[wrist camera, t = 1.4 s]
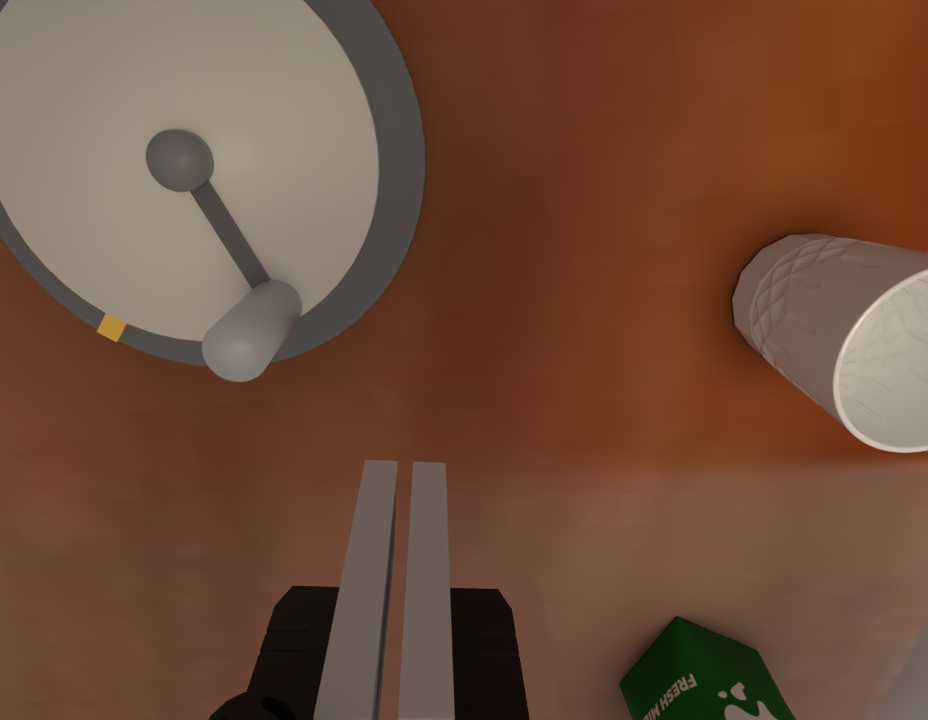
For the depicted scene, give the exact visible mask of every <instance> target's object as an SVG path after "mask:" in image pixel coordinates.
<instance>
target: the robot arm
mask: <svg viewBox="0 0 928 720" xmlns="http://www.w3.org/2000/svg"><path fill="white" fill-rule="evenodd" d="M397 469H398V461H380V460H365V464H364V469H363V474H362V479H361V484H360V489H359V494H358V499H357V504H356V508H355V513H354V518H353V523H352V528H351V533H350V538H349V543H348V548H347V553H346V558H345V563H344V568H343V573H342V578H341V583H340V587H317V586H292V587H291V588H290V589H289V591H288V592H287V593H286V594H285V595H284V596H283V597H282V598H281V600H280V601H279V602H278V603H277V604H276V605H275V607H274V610H273V613H272V616H271V619H270V622H269V625H268V628H267V634H266V635H265V637H264V640H263V643H262V646H261V649H260V655H259V656H258V659H257V662H256V665H255V668H254V671H253V674H252V677H251V680H250V683H249V686H248V689H247V692H244V693H242V694H240V695H238V696H236V697H234V698H232V699H230V700H228V701H226V702H225V703H224V704H223V705H222V706H221V707H220V708H219V709H218V710H217V711H215V712H214V713H213V714H212V715H211V716H210V718H209V720H379V719H380V708H381V697H382V685H383V674H384V663H385V652H386V641H387V630H388V619H389V608H390V596H391V585H392V574H393V563H394V547H395V521H396V495H397ZM515 634H516V632H515V626H514V620H513V614H512V609H511V608H510V606H509V605H508V603H507V602H506V600H505V599H504V597H503V596H502V594H501V593H500V591H499V590H498V589H474V588H450V577H449V549H448V521H447V494H446V466H445V463H432V462H413V474H412V491H411V508H410V525H409V542H408V560H407V577H406V594H405V611H404V628H403V645H402V662H401V679H400V696H399V713H398V720H530V719H529V713H528V707H527V700H526V694H525V688H524V682H523V676H522V669H521V663H520V657H519V651H518V645H517V639H516V636H515Z"/></svg>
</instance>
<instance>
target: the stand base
mask: <svg viewBox="0 0 928 720" xmlns="http://www.w3.org/2000/svg"><path fill="white" fill-rule="evenodd" d="M8 1H9V0H0V12H1V11H2V9H3V8H4V7H5V5H6V4H7V2H8ZM304 1H305V2H306V3H307V4H308V5H309V6H310V8H311V9H312V10H313V11H314V12H315V13H316V14H317V15H318V16H319V17H320V18H321V19H322V20H323V21H324V22H325V23H326V25H327V26H328V27H329V29H330V30H331V31H332V33H333V34H334V35H335V37H336V38H337V39H338V41H339V42H340V43H341V45H342V46H343V48H344V49H345V51H346V53H347V54H348V56H349V58H350V60H351V61H352V63H353V65H354V67H355V68H356V70H357V72H358V74H359V77H360V79H361V81H362V84H363V86H364V88H365V91H366V93H367V96H368V99H369V102H370V105H371V109H372V112H373V116H374V119H375V123H376V129H377V135H378V141H379V148H380V183H379V195H378V200H377V204H376V209H375V214H374V218H373V221H372V224H371V226H370V229H369V232H368V235H367V237H366V240H365V242H364V244H363V245H362V247H361V249H360V251H359V253H358V255H357V257H356V259H355V261H354V262H353V264H352V266H351V267H350V268H349V270H348V271H347V273H346V274H345V275H344V277H343V278H342V280H341V281H340V282H339V284H338V285H337V286H336V287H335V288H334V289H333V290H332V291H331V292H330V293H329V294H328V295H327V296H326V297H325V298H324V299H323V300H322V301H321V302H320V303H318V304H317V305H316V306H314V307H313V308H312V309H311V310H309V311H308V312H307V313H305V314H304V315H302V316H300V318H299V320H298V321H297V323H296V324H295V326H294V327H293V329H292V330H291V332H290V333H289V335H288V336H287V338H286V339H285V341H284V342H283V343H282V345H281V346H280V348H279V349H278V351H277V352H276V354H275V355H274V357H273V358H272V360H271V361H270V363H272V362H276V361H280V360H284V359H287V358H291V357H294V356H297V355H299V354H302V353H304V352H307V351H309V350H311V349H314V348H316V347H318V346H320V345H322V344H323V343H325V342H327V341H329V340H330V339H332V338H334V337H336V336H337V335H339V334H340V333H342V332H343V331H344V330H345V329H347V328H348V327H349V326H351V325H352V324H353V323H355V322H356V321H357V320H359V319H360V318H361V316H362V315H363V314H364V313H365V312H366V311H367V310H368V309H369V308H370V307H371V306H372V305H373V304H374V303H375V302H376V301H377V300H378V299H379V297H380V296H381V295H382V293H383V292H384V291H385V289H386V288H387V287H388V285H389V284H390V283H391V281H392V280H393V278H394V276H395V274H396V273H397V271H398V269H399V267H400V265H401V264H402V262H403V260H404V258H405V256H406V254H407V251H408V248H409V246H410V243H411V241H412V238H413V236H414V233H415V230H416V226H417V222H418V218H419V214H420V209H421V205H422V199H423V191H424V182H425V173H426V161H425V137H424V130H423V123H422V116H421V111H420V107H419V103H418V99H417V96H416V92H415V88H414V84H413V82H412V79H411V76H410V74H409V71H408V69H407V66H406V64H405V61H404V59H403V56H402V54H401V52H400V50H399V48H398V46H397V44H396V42H395V40H394V38H393V37H392V35H391V33H390V31H389V29H388V27H387V25H386V24H385V22H384V20H383V18H382V17H381V15H380V14H379V13H378V11H377V10H376V8H375V7H374V5H373V4H372V3H371V1H370V0H304ZM0 236H1V237H2V239H3V240H4V242H5V243H6V245H7V246H8V248H9V249H10V250H11V252H12V253H13V255H14V256H15V258H16V259H17V260H18V261H19V262H20V263H21V265H22V266H23V267H24V268H25V269H26V270H27V271H28V273H29V274H30V275H31V276H32V277H33V278H34V279H35V281H36V282H37V283H38V284H39V285H40V286H42V287H43V288H44V289H45V290H46V291H47V292H48V293H49V294H50V295H51V296H52V297H53V298H54V299H55V300H57V301H58V302H59V303H60V304H61V305H63V306H64V307H65V308H66V309H68V310H69V311H70V312H72V313H73V314H74V315H76V316H77V317H78V318H80V319H81V320H82V321H84V322H85V323H87V324H89V325H90V326H92V327H94V328H95V329H97V332H98V333H100V334H102V335H104V336H106V337H107V338H109V339H111V340H113V341H115V342H118V341H119V342H121V343H123V344H125V345H128V346H130V347H132V348H134V349H136V350H139V351H142V352H145V353H148V354H151V355H154V356H157V357H160V358H163V359H167V360H172V361H176V362H181V363H185V364H190V365H200V366H208V365H207V364H206V362H205V360H204V357H203V354H202V341H194V340H185V339H177V338H172V337H168V336H164V335H159V334H155V333H152V332H149V331H146V330H143V329H140V328H137V327H134V326H132V325H129V324H127V323H125V322H123V321H121V320H119V319H117V318H115V317H112V316H110V315H108V314H107V313H105V312H103V311H102V310H100V309H98V308H97V307H95V306H94V305H92V304H90V303H89V302H87V301H85V300H84V299H83V298H82V297H80V296H79V295H78V294H76V293H75V292H74V291H72V290H71V289H70V288H69V287H67V286H66V285H65V284H64V283H63V282H62V281H61V280H59V279H58V278H57V277H56V276H55V275H54V274H53V273H52V272H51V271H50V270H49V269H48V268H47V267H46V266H45V265H44V264H43V263H42V262H41V260H40V259H39V258H38V257H37V256H36V255H35V253H34V252H33V251H32V250H31V249H30V247H29V246H28V245H27V244H26V242H25V241H24V239H23V238H22V236H21V235H20V233H19V232H18V230H17V229H16V227H15V226H14V225H13V223H12V221H11V219H10V218H9V216H8V214H7V212H6V210H5V208H4V206H3V205H2V203H1V201H0Z"/></svg>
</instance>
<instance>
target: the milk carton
mask: <svg viewBox="0 0 928 720" xmlns="http://www.w3.org/2000/svg"><path fill="white" fill-rule="evenodd" d="M619 686H620V688H621V691H622V693H623V696H624V698H625V701H626V703H627V706H628V708H629V711H630V713H631V716H632V718H633V720H796V719H795V717H794V716H793V714H792V713H791V711H790V709H789V708H788V706H787V704H786V703H785V701H784V699H783V697H782V695H781V693H780V692H779V690H778V688H777V686H776V684H775V682H774V680H773V679H772V677H771V675H770V673H769V671H768V669H767V667H766V666H765V664H764V662H763V660H762V658H761V656H760V654H759V652H758V651H756V650H753V649H751V648H749V647H746V646H744V645H742V644H739V643H737V642H735V641H732V640H730V639H728V638H725V637H723V636H721V635H718V634H716V633H714V632H711V631H709V630H707V629H704V628H702V627H700V626H697V625H695V624H693V623H690V622H688V621H686V620H683V619H681V618H679V617H676V619H675V620H674V621H673V622H672V623H671V624H670V626H669V627H668V628H667V629H666V630H665V632H664V633H663V634H662V635H661V636H660V637H659V639H658V640H657V641H656V642H655V643H654V645H653V646H652V647H651V648H650V649H649V651H648V652H647V653H646V654H645V655H644V656H643V658H642V659H641V660H640V661H639V662H638V664H637V665H636V666H635V667H634V668H633V669H632V671H631V672H630V673H629V674H628V675H627V677H626V678H625V679H624V680H623V681H622V683H621V684H620V685H619Z"/></svg>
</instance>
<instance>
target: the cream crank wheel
mask: <svg viewBox="0 0 928 720" xmlns="http://www.w3.org/2000/svg"><path fill="white" fill-rule="evenodd" d="M379 183H380V148H379V141H378V135H377V129H376V123H375V119H374V116H373V112H372V109H371V105H370V102H369V99H368V96H367V93H366V91H365V88H364V86H363V84H362V81H361V79H360V77H359V74H358V72H357V70H356V68H355V67H354V65H353V63H352V61H351V60H350V58H349V56H348V54H347V53H346V51H345V49H344V48H343V46H342V45H341V43H340V42H339V41H338V39H337V38H336V37H335V35H334V34H333V33H332V31H331V30H330V29H329V27H328V26H327V25H326V23H325V22H324V21H323V20H322V19H321V18H320V17H319V16H318V15H317V14H316V13H315V12H314V11H313V10H312V9H311V8H310V6H309V5H308V4H307V3H306V2H305V1H304V0H9V1H8V2H7V4H6V5H5V7H4V8H3V9H2V11H1V12H0V201H1V203H2V205H3V206H4V208H5V210H6V212H7V214H8V216H9V218H10V219H11V221H12V223H13V225H14V226H15V227H16V229H17V230H18V232H19V233H20V235H21V236H22V238H23V239H24V241H25V242H26V244H27V245H28V246H29V247H30V249H31V250H32V251H33V252H34V253H35V255H36V256H37V257H38V258H39V259H40V260H41V262H42V263H43V264H44V265H45V266H46V267H47V268H48V269H49V270H50V271H51V272H52V273H53V274H54V275H55V276H56V277H57V278H58V279H59V280H61V281H62V282H63V283H64V284H65V285H66V286H67V287H69V288H70V289H71V290H72V291H74V292H75V293H76V294H78V295H79V296H80V297H82V298H83V299H84V300H85V301H87V302H89V303H90V304H92V305H94V306H95V307H97V308H98V309H100V310H102V311H103V312H105V313H107V314H108V315H110V316H112V317H115V318H117V319H119V320H121V321H123V322H125V323H127V324H129V325H132V326H134V327H137V328H140V329H143V330H146V331H149V332H152V333H155V334H159V335H164V336H168V337H172V338H177V339H185V340H194V341H202V354H203V357H204V360H205V362H206V364H207V365H208V367H209V368H210V369H211V370H212V371H213V372H214V373H215V374H217V375H218V376H220V377H222V378H224V379H226V380H229V381H234V382H245V381H249V380H252V379H254V378H256V377H258V376H259V375H260V374H261V373H262V372H263V371H264V370H265V368H266V367H267V365H268V364H269V363H270V361H271V360H272V358H273V357H274V355H275V354H276V352H277V351H278V349H279V348H280V346H281V345H282V343H283V342H284V341H285V339H286V338H287V336H288V335H289V333H290V332H291V330H292V329H293V327H294V326H295V324H296V323H297V321H298V320H299V318H300V316H302V315H304V314H305V313H307V312H308V311H309V310H311V309H312V308H313V307H314V306H316V305H317V304H318V303H320V302H321V301H322V300H323V299H324V298H325V297H326V296H327V295H328V294H329V293H330V292H331V291H332V290H333V289H334V288H335V287H336V286H337V285H338V284H339V282H340V281H341V280H342V278H343V277H344V275H345V274H346V273H347V271H348V270H349V268H350V267H351V266H352V264H353V262H354V261H355V259H356V257H357V255H358V253H359V251H360V249H361V247H362V245H363V244H364V242H365V240H366V237H367V235H368V232H369V229H370V226H371V224H372V221H373V218H374V214H375V209H376V204H377V200H378V195H379Z"/></svg>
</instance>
